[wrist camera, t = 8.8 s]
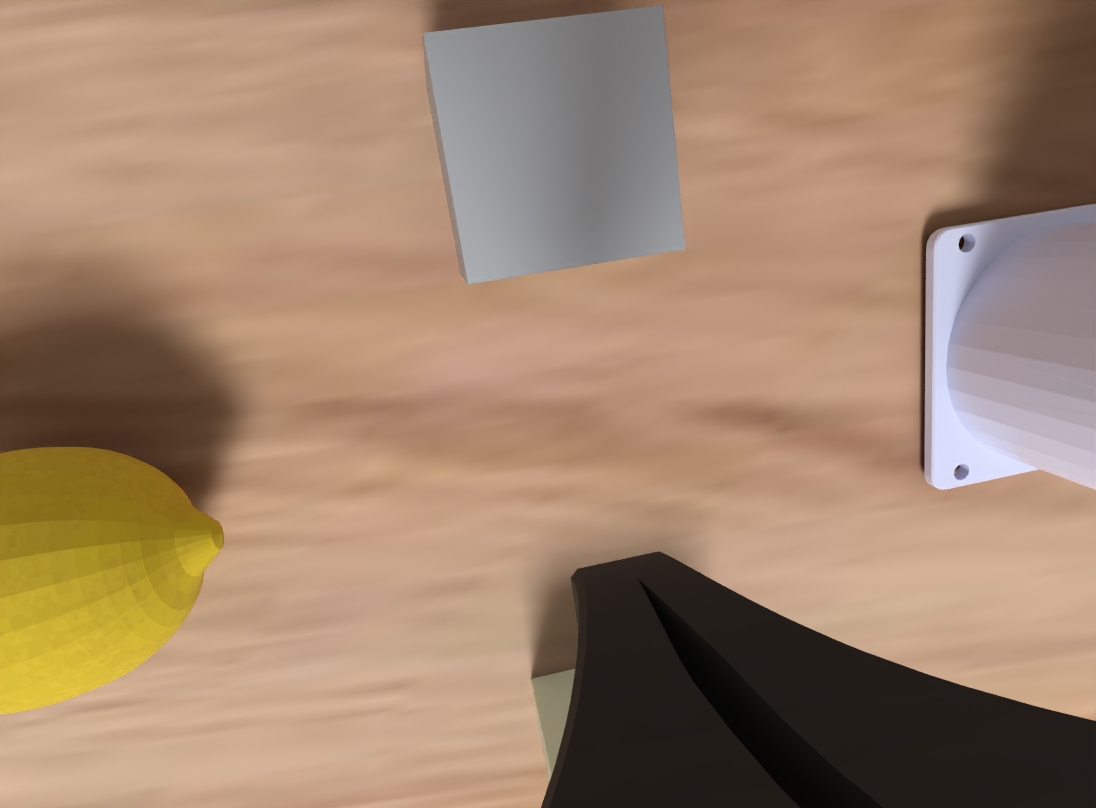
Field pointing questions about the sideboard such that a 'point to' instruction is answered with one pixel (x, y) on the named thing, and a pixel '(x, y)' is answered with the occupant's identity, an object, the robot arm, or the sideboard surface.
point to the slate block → (556, 141)
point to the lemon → (91, 569)
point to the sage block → (552, 711)
